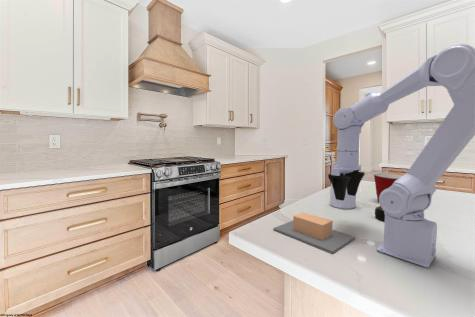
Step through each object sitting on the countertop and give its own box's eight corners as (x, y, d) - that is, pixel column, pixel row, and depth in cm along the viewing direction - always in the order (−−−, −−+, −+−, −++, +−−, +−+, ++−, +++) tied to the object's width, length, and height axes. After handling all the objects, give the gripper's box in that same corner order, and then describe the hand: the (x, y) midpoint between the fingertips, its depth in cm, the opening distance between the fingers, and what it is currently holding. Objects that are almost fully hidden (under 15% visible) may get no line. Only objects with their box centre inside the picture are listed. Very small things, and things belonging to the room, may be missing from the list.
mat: (355, 239, 59) (355, 236, 59) (332, 254, 52) (332, 251, 52) (297, 220, 73) (297, 218, 73) (273, 230, 66) (273, 228, 65)
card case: (303, 225, 67) (303, 212, 67) (332, 234, 61) (332, 220, 60) (293, 229, 64) (293, 216, 64) (322, 240, 57) (322, 225, 57)
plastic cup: (404, 208, 85) (406, 177, 84) (371, 204, 91) (372, 175, 90) (401, 201, 95) (403, 173, 93) (371, 198, 100) (373, 171, 99)
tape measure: (396, 225, 69) (397, 213, 69) (371, 219, 74) (372, 208, 74) (401, 219, 74) (401, 208, 74) (377, 214, 79) (378, 204, 78)
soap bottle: (359, 209, 84) (362, 144, 82) (335, 209, 85) (337, 144, 82) (348, 202, 93) (350, 143, 91) (326, 202, 93) (328, 143, 91)
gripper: (345, 149, 72) (343, 191, 73) (321, 151, 63) (320, 198, 64) (369, 150, 67) (367, 195, 68) (347, 152, 57) (345, 204, 59)
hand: (345, 197), depth 66 cm, fingers open, 7 cm apart
